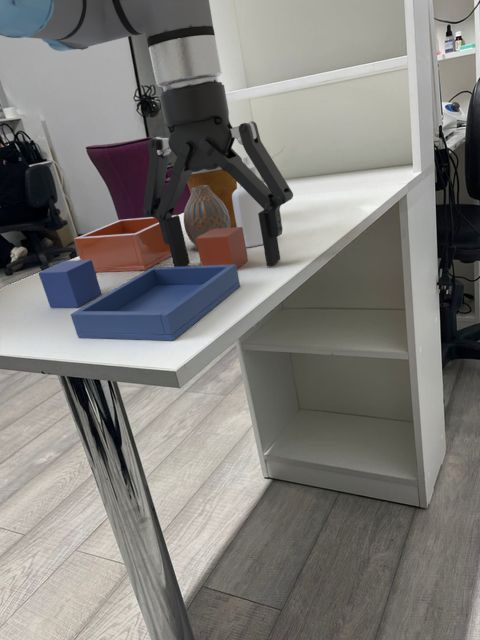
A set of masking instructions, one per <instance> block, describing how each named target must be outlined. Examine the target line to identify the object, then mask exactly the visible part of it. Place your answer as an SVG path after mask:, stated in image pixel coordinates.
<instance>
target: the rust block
mask: <svg viewBox="0 0 480 640" xmlns="http://www.w3.org/2000/svg"><path fill="white" fill-rule="evenodd" d="M196 242H197V246H196V247H197V250H198V256H199V260H200V261H199V262H200V266H207V265H236V266H237V269H239V268H241V267H242V266H243V265H244V264H245V263H247V262H249V258H248V251H247V247H246V245H245V239H244V234H243V228H242V227H233V228H218V229H211V230H210V231H208V232H206V233H204V234H202V235H201V236H199V237H197V238H196Z"/></svg>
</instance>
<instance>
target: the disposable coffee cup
mask: <svg viewBox="0 0 480 640" xmlns="http://www.w3.org/2000/svg"><path fill="white" fill-rule="evenodd" d="M186 184H187V186H188V189H189V192H190V194H191V191H192V188H193V187H197V186H202V185H208V186H209V188H210V189H211V191H212V192H213V193H214V194H215V195H216V196H217V197H218V198H219V199H220V200H221V201H222V202H223V203H224V204H225V206H226V208H227V210H228V213H229V217H230V224H231V225H230V228H233V227H237V225H236V219H235V214H234V208H233V202H232V194H233V192H234V191H235V190H236V189H237V188H238V182H237V181H236V180H235V179H234V178H233V177H232V176H231V175H230V174H229V173H228V172H225V171H224V170H222V169H221V168H217V169H213V170H206V169H203V170H201V171H198V172H192V173H191V174H190V176H189V179H188V181H187V183H186Z"/></svg>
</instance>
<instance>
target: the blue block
mask: <svg viewBox="0 0 480 640" xmlns="http://www.w3.org/2000/svg"><path fill="white" fill-rule="evenodd" d="M38 276H39V279H40V282H41V284H42V288H43V291H44V293H45V297H46V299H47V302H48V304H49V307H50V308H51V309H52V308H55V309H57V308H59V309H60V308H61V309H62V308H63V309H64V308H65V309H66V308H68V309H69V308H71V309H72V308H74V309H75V308H76V309H77V308H78V309H79V308H81V307H83V306H85V305H86V304H87V303H90V302H92V301H93V300H95V299H97V298H99V297H100V296H102V294H103V293H102V290H101V287H100V283H99V280H98V276H97V272H95V270H94V266H93V263H92V260H80V259H79V260H63V261H61V262H59V263H57V264H54V265H52V266H50V267H47V268H46V269H43V270H41V271H39V272H38Z"/></svg>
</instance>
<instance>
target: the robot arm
mask: <svg viewBox="0 0 480 640" xmlns="http://www.w3.org/2000/svg"><path fill="white" fill-rule="evenodd" d="M143 34H145V37H146V43H147V48H148V51H149V58H150V61H151V66H152V71H153V75H154V80H155V85H156V86H157V87H159V88H162V89H163V92H160V95H159V102H160V105H161V110H162V115H163V119H164V124H165V125H166V127H167V128H168V137H165V136H163V135H161V136H156V137H152V138H148V139H147V149H148V156H149V160H148V169H147V175H146V182H145V183H146V184H145V189H144V198H143V204H142V214H143V216H144V217H145V218H147V217H153V218H156V219H157V220H158V221H159V224H160V228H161V232H162V236H163V241H164V242H165V244H169V247H170V251H171V259H172V264H173V267H181V266H189V265H190V264H191V262H190V258H189V254H188V248H187V245H186V240H185V236H184V231H183V227H182V222H181V218H180V215H178V216H174V217H172V216H173V215H177V214H176V212H175V210H176V209H177V206H178V204H179V201H180V199H181V197H182V194H183V193H184V191H185V188H186V184H187V181H188V179H189V176H190V174H191V173H192V172H198V171H201V170H203V169H206V170H213V169H217V168H221V169H222V170H224V171H225V172H228V173H229V174H230V175H231V176H232V177H233V178H234V179H235V180H236V181H237V184H238V185H240V186H242V187H243V188H244V189H245V190H246V191H247V192H248V193H249V194H250V195H251V197H252V198H253V199H254V200H255V201H256V202H257V203H258V204H259V205H260V206H261V207H262V208H263V209H264V210H263V211H261V212H260V213H258V215H259V221H260V227H261V233H262V239H263V244H262V245H263V250H264V257H265V262H266V267H273V266H275V265H276V264H277V263H278V262H280V260H281V253H280V246H279V240H278V237H280V236H281V235H282V234H283V229H284V228H283V223H282V217H281V206H283V205H284V204H286V203H288V202H289V201H291V200H292V199H293V197H294V193H293V191H292V189H291V187H290V186H289V184H288V183H287V181H286V179H285V178H284V176H283V174H282V173H281V171H280V170H279V168H278V167H277V165H276V163H275V161H274V160H273V158H272V157H271V155H270V153H269V152H268V150H267V148H266V147H265V145H264V143H263V142H262V140H261V136H260V132H259V128H258V124H257V123H256V122H255V121H254V120H251V121H246V122H242V123H240V124H239V125H238V126H234V127H233V125H232V124H231V121H230V112H229V106H228V99H227V94H226V88H225V84H223V82H222V81H219V79H218V78H219V77H220V76H221V75H222V73H223V72H222V66H221V61H220V54H219V51H218V44H217V40H216V38H217V37H216V34H215V28H214V23H213V15H212V11H211V5H210V0H0V36H1V37H5V38H10V39H22V38H27V39H28V38H29V39H39V40H41V41H42V42H43V43H46V44H47V45H48V47H49V48H51V49H52V50H54V51H57V52H67V51H73V50H81V51H83V50H86V49H87V50H88V49H89V47H92V46H97V45H100V44H105V43H108V42H112V41H117V40H120V39H124V38H125V39H126V38H128V37H132V36H139V35H143ZM236 140H237V143H239V144H240V145H241V146H243V148H244V151H245V153H246V154H247V155H248V156H247V157H248V159H249V160H250V161H251V163H252V165H253V166H255V167H256V171H257V173H258V174H259V175H260V177H261V178H262V179H260V178H259V177H258V175H257V176H256V175H255V174H254V173H253V172H252V171H251V170H250V169H249V168H248V167H247V166H246V165H245V164H244V163H243V157H241V156H240V155H239V154H238V152H236V151H235V149H233V145H234V143H235V141H236ZM171 152H172V153H173V154H174V155H175V156H176V159H175V161H174V163H173V166H172V169H171V174H170V178H169V180H168V183H167V185H166V188H165V184H166V179H167V178H166V177H167V171H168V166H169V165H168V164H169V155H170V154H171ZM265 184H266V185H267V186H266V185H265Z"/></svg>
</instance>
